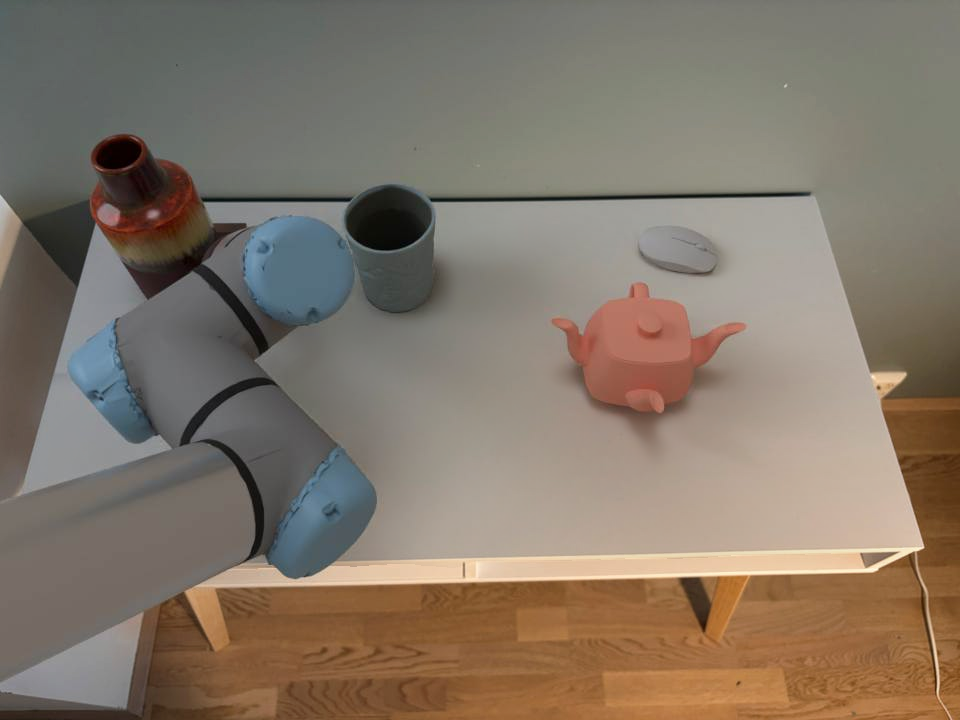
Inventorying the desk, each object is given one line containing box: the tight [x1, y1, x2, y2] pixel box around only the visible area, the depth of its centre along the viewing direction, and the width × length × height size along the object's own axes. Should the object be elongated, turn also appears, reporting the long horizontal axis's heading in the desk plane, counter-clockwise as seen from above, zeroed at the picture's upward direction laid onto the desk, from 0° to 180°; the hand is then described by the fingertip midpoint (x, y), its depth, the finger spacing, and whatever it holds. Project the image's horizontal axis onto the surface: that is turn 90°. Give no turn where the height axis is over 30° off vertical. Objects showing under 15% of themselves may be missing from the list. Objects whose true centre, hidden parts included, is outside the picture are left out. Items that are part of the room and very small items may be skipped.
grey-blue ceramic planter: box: [341, 182, 437, 313], centre depth 85 cm, size 10×10×12 cm
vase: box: [89, 133, 220, 301], centre depth 81 cm, size 11×11×20 cm
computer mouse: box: [638, 225, 718, 274], centre depth 91 cm, size 6×10×3 cm, turn 77°
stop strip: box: [212, 222, 249, 238], centre depth 93 cm, size 14×2×1 cm, turn 91°
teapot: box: [550, 281, 748, 414], centre depth 79 cm, size 14×14×11 cm
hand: (202, 279), depth 82 cm, fingers closed
